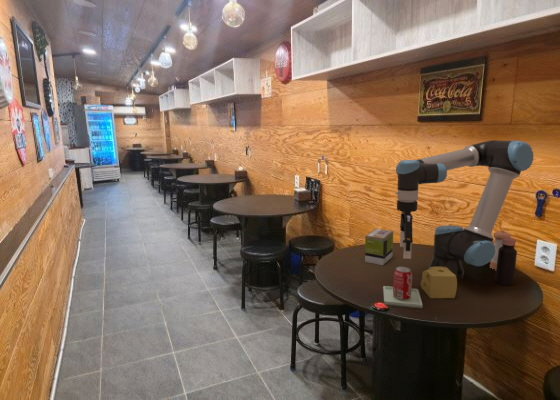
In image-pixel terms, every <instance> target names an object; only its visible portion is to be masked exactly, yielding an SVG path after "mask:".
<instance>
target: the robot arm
mask: <svg viewBox="0 0 560 400" xmlns="http://www.w3.org/2000/svg"><path fill="white" fill-rule="evenodd" d="M533 162H534V152H533V148H532V147H531V145H530V144H529V143H528V142H526V141H522V140H521V141H520V140H496V139H494V140H485V141H482V142H478V143H474V144H473V143H472V144H470V145H466V146H465V147H464V148H462V149H459V150H453V151H449V152H446V153H445V152H444V153H440V154H436V155H431V156H427V157H424V158H418V159H404V160H400V161H399V162H398V163H397V164H396V167H395V173H396V175H397V191H396V192H395V194H396V196H397V197H396V199H397V200H396V210H397V211H398V212H401V214H400V223H399V228H400V229H399V230H400V233H399V234H400V235H399V247H400V248H403V252H402V253H403V257H402V258H403V259H404V260H405V259H409V260H411V259H412V244H413V242H414V240H413V219H414V218H413V215H412V212H413V213H414V212H417V211H418V199H419V186H420V185H424V184H425V185H426V184H438V183H442V182H444V181H445V180H446V179H447V176H448V171H451V170H455V169H459V168H464V167H470V168H473V167H488V168H487V170H488V171H489V175H488V178H487V181H486V183H485V186H484V189H483V191H482V193H481V195H480V198H479V200H478V203H477V204H476V205H477V206H476V209H475V210H474V213H473V215H472V217H471V218H472V219H471V220H470V222H469V225H468V226H466V227H463V226H460V225H450V224H449V225H440V226H437V227H435V229H434V230H435V231H434V236H433V237H434V239H433V254H432V255H433V256H432V258H431V261H430V263H429V265H428V266H427V267H428V268H427V270H429V268H430V267H447V268H448V269H449V270H450V271H451V272H452V273H453V274H455V275H456V278H457V281H458V280H462V279H463V278H464V276H465V275H464V274H465V271H464V268H463V264H462V261H463V262H464V263H466V264H468V265H471V266H475V267H483V266H485V265H487V264H488V263H490V261H491V260H492V258H493V257H494V255H495V246H494V244H495V243H493V240H495V238H494V235H492V234H493V233H492V232H493V231H494V228H495V226H496V223H497V219H498V218H499V215H500V213H501V210H502V208H503V205H504V203H505V200H506V198H507V196H508V193H509V191H510V188H511V186H512V183H513V181H514V179H518V178H519V177H520V175H521V172H524V171H527V170H528V169H529V168H530V167H531V166H532V165H533ZM461 278H462V279H461Z"/></svg>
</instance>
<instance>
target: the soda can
mask: <svg viewBox="0 0 560 400" xmlns="http://www.w3.org/2000/svg"><path fill="white" fill-rule="evenodd" d="M392 287H393V295H394V296H395V297H396V298H398V299H401V300H406V299H409V298H410V297H411V291H412V289H413V288H412V287H413V273H412V270H411V268H410V267H408V266H404V265H403V266H397V267H395V270H394V271H393V281H392Z"/></svg>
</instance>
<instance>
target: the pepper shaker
mask: <svg viewBox="0 0 560 400" xmlns="http://www.w3.org/2000/svg"><path fill="white" fill-rule="evenodd" d="M493 238H494V243H493V244H494V246H495V255H494V257H493V258H492V260H491V261H490V262H489V263H490V264H489V268H490V269H491V268H492V270H493V269H495V270H494V271H496V269H497V260H498V251H499V248H500V247H502V246H503V245H502V238H512V236H511V234H510V233H509V232H506V231H505V230H499V231H496V232H494V233H493Z"/></svg>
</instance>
